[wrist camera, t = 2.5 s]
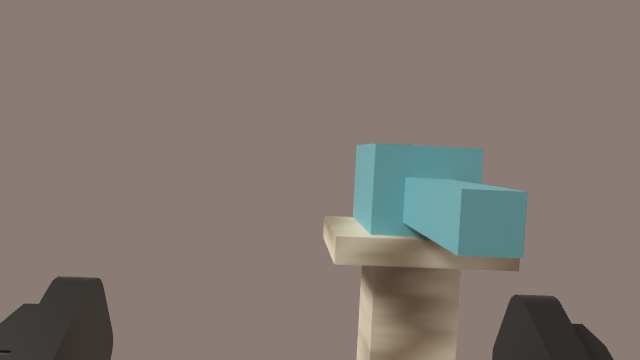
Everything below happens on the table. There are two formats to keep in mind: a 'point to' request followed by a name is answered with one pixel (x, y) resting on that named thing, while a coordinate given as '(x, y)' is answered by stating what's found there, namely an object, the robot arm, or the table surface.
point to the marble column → (404, 290)
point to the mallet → (437, 199)
